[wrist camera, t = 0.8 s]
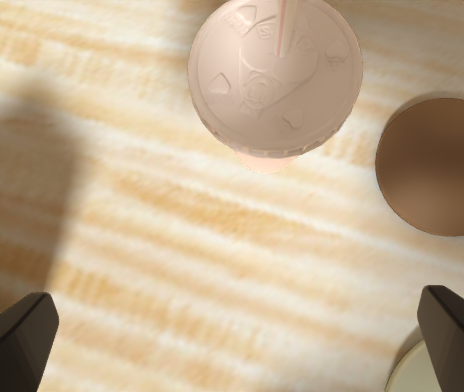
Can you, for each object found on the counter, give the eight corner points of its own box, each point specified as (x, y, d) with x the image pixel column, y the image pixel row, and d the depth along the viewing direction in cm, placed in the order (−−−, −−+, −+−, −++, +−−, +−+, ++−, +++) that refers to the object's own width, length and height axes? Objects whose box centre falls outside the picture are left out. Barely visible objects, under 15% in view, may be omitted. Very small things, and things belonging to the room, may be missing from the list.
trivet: (540, 212, 22) (548, 211, 21) (404, 253, 22) (408, 253, 21) (484, 85, 23) (490, 81, 22) (356, 124, 23) (358, 121, 23)
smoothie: (337, 119, 23) (457, -80, 9) (291, 214, 23) (350, 147, 9) (242, 77, 24) (225, -165, 10) (194, 168, 23) (108, 38, 10)
